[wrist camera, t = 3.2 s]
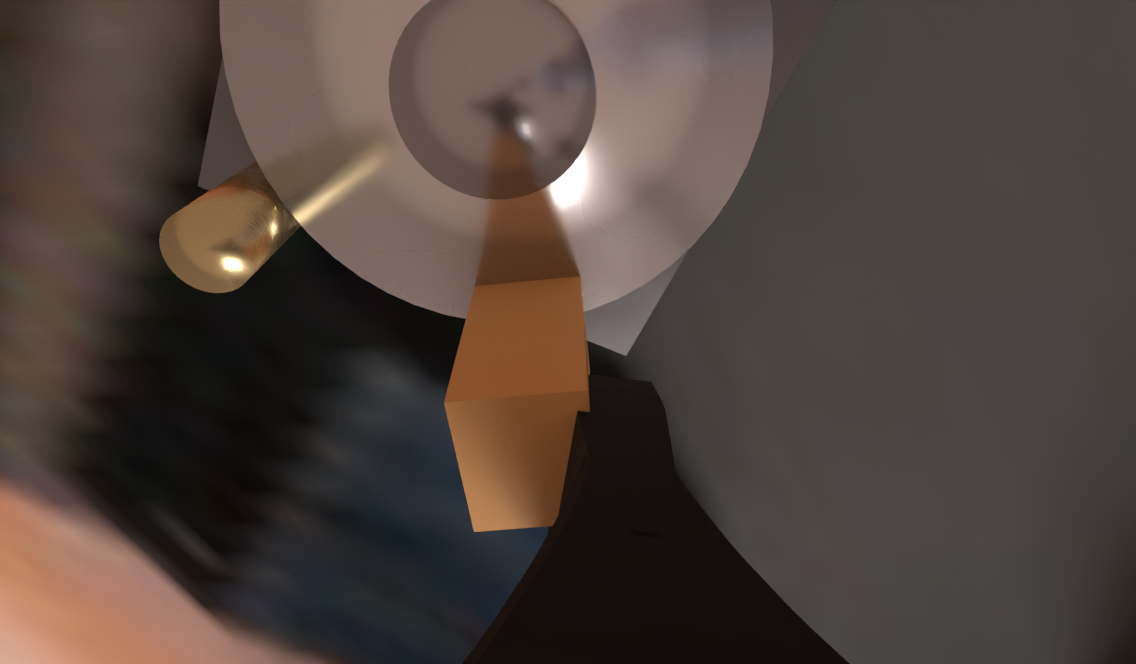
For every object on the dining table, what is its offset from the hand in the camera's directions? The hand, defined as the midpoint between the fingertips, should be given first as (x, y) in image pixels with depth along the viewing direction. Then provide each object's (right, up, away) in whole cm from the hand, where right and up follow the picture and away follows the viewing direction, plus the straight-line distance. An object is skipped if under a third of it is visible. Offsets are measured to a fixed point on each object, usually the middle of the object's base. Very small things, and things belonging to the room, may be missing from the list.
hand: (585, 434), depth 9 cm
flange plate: (-1, +5, 0) cm, 5 cm away
